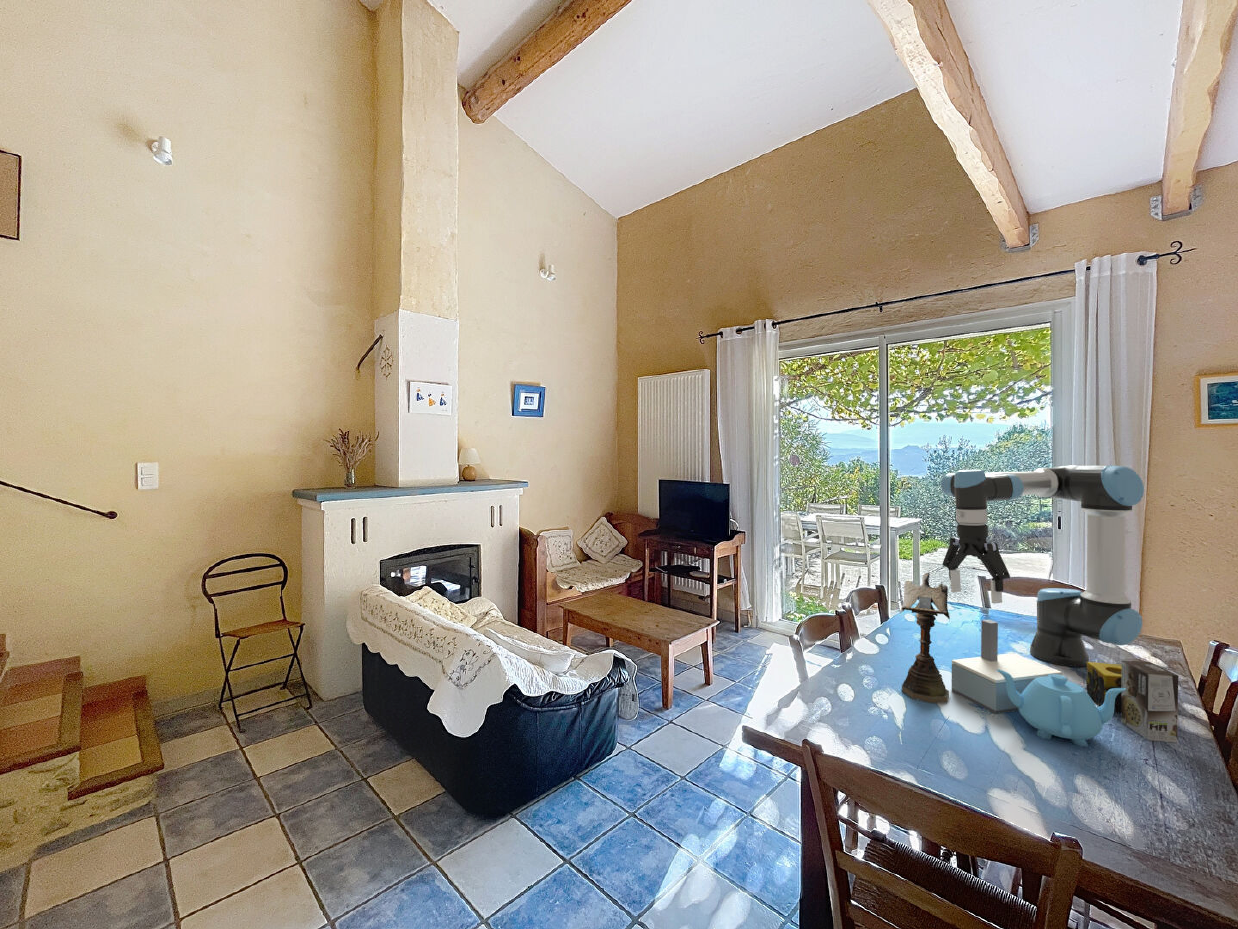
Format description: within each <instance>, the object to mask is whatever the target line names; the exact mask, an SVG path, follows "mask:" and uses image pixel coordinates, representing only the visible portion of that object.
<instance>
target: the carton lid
mask: <svg viewBox="0 0 1238 929" xmlns="http://www.w3.org/2000/svg"><path fill="white" fill-rule="evenodd" d="M980 624H981V625H980V626H981V634H980V635H981V636H980V637H981V638H980V644H981V645H980V656H976V657H967V658H959V659H951V664H952V663H954V664H956V665H958V666H960V667H962V668H964V669H967V670H969V671H971V672H973V673H975V674H977V675H980V676H982V677H984V678H986V679H988V680H990V681H993V682H995V683H1001V682H1006V681H1005V678H1004V677H1003V675H1002V674H1001V673H999V672H998V671H997V670H996V669H999V670H1002V671H1005V672H1007V673H1009V674H1010V675H1011V676H1012V678H1013V680H1014V681H1017V680H1025V679H1034V678H1037V677H1047V675H1052V674H1058V675H1062V676H1063V672H1062V671H1061V670H1057V669H1055V668H1053V667H1050V666H1048V665H1045V664H1043V663H1039V662H1037V661H1034V660H1032V659H1030V658H1027V657H1024V656H1022V655H1019V654H1016V653H1012V652H1011V653H1006V654H1005V653H1004V654H1002V653H1001V654H998V652H999V651H998V648H999V647H998V646H999V645H998V643H999V642H998V638H999V637H998V636H999V623H998V622H997V621H995V620H991V619H982V620H981V623H980Z"/></svg>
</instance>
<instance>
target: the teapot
mask: <svg viewBox="0 0 1238 929" xmlns="http://www.w3.org/2000/svg"><path fill="white" fill-rule="evenodd" d="M996 670H997V671H998V672H999V673H1001V674H1002V675H1003V677H1004V678H1005V681H1006V686H1007V693H1008V696H1009V699H1010V700H1011V702H1012V703H1013V704H1014V705H1015V706H1017V707H1018V709H1019V711H1018V712H1019V713H1020V715H1021V716H1022V718H1024V719H1025V720H1024V721H1026V722H1027V724H1029V725H1030V726H1032V727H1033V728H1035V729H1038V730H1037V732H1036V733H1035V734H1036V735H1037V736H1038V737H1039V738H1042V739H1048V740H1049V739H1051V738H1052V736H1055V737H1059V738H1064V739H1069V740H1071V741H1072V742H1073V744H1076V745H1077V746H1081V747H1088V746H1089V744H1088V743H1087V741H1086V740H1091V739H1092V738H1094V737H1096V736H1098V735H1099V734H1100V733H1101V732H1102V731H1103V725H1104V724H1106V723H1109V721H1111V720H1112V719H1113V717H1114V713H1115V712H1114V704H1115V698H1116V696H1117V695H1118V694H1119V693H1120V692H1122V691H1124V690H1126V688H1113V689H1110V690H1108V691H1107V693H1106V695H1105V701H1104V703H1103V705H1101V706H1097V704H1096V703H1095V702H1093V700H1092V699H1091V698H1090V696H1089V695H1088V693H1087V690H1086V689H1085V688H1084V687H1082V686H1081V685H1080V684H1077V683H1075V682H1074V681H1070V680H1068V677H1066V676H1064V675H1063V674H1062V675H1058V674H1052V675H1047V677H1037V678H1035V679H1034V680H1033V681H1032V682H1031V683H1030V684H1029V685H1028V686H1027V687H1026V688H1025V689H1024V691H1023V692H1022V694H1020V693H1019V692H1017V691H1016V689H1015V685H1014V680H1013V678H1012V676H1011V675H1010V674H1009V673H1007V672H1005V671H1002V670H999V669H996Z"/></svg>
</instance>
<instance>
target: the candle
mask: <svg viewBox="0 0 1238 929" xmlns="http://www.w3.org/2000/svg"><path fill="white" fill-rule="evenodd" d="M1086 670H1087V672H1086V685H1085V686H1086V687H1085V688H1086V689H1085V690H1086V692H1087V693H1088V695H1089V696H1090V698H1091V699H1092V701H1093V702H1094V704H1095V705H1096V706H1097V707H1099V706H1101V705H1103V703H1104V701H1105V695H1106V693H1107V691H1108V690H1110V689H1113V688H1121V684H1122V682H1121V675H1122V664H1118V663H1105V662H1096V661H1095V662H1094V661H1089V662H1087V665H1086ZM1121 698H1122V697H1121V692H1120V693H1119V694H1118V695H1117V696H1116V698H1115V704H1114V713H1117V714H1118V713H1120V714H1121V704H1122V703H1121V702H1122V700H1121Z"/></svg>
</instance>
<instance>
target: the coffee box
mask: <svg viewBox="0 0 1238 929" xmlns="http://www.w3.org/2000/svg"><path fill="white" fill-rule="evenodd" d="M1121 665H1122V675H1121V682H1122V684H1121V688H1126V690H1124V691H1122V692H1121V697H1122V698H1121V700H1122V702H1121V703H1122V704H1121V713H1120V714H1121V716H1120V718H1121V721H1120V723H1121V724H1123V725H1125V726H1126V727H1128V728H1130V729H1131V730H1132V731H1134V732H1135V733H1137V734H1138V735H1140V736H1141V737H1143V738H1144V739H1146V740H1147V741H1153V742H1155V741H1156V742H1164V743H1165V742H1167V743H1175V744H1177V743H1178V725H1179V724H1178V723H1179V722H1178V721H1179V720H1178V718H1179V716H1178V714H1179V675H1178V674H1176V673H1173V672H1172V671H1170V670H1168V669H1166V668H1163V667H1161V666H1159V665H1157V664H1155V663H1153V662H1151V661H1146V660H1145V661H1142V660H1121Z"/></svg>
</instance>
